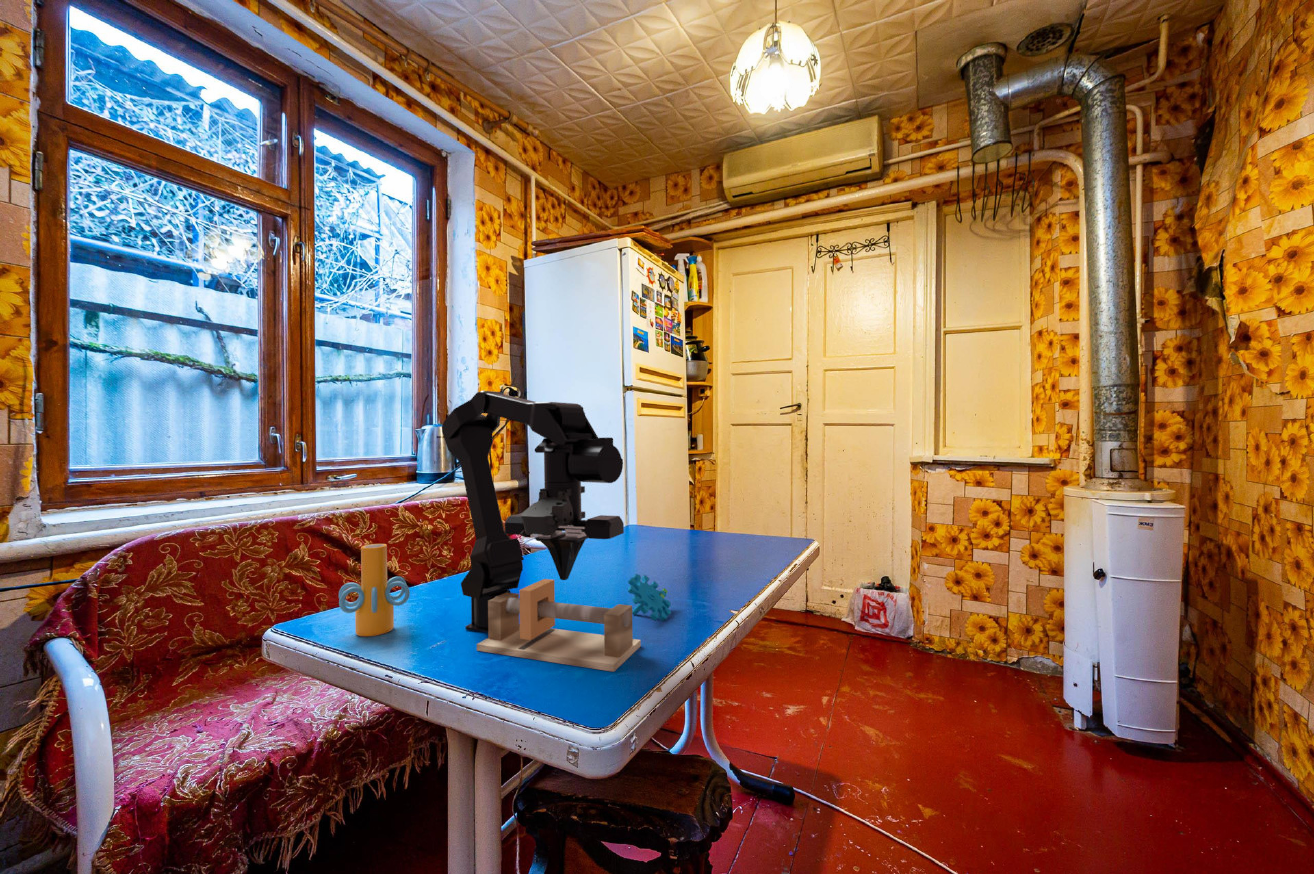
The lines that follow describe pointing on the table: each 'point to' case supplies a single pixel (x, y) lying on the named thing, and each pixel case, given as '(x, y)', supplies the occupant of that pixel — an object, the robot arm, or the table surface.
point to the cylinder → (373, 593)
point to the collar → (535, 609)
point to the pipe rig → (562, 634)
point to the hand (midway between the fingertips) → (564, 579)
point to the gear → (649, 598)
